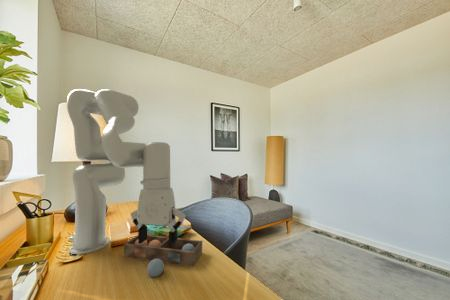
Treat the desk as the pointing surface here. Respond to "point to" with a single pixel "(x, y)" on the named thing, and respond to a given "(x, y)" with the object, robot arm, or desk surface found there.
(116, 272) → the desk surface
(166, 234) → the puzzle game
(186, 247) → the blue-grey ball
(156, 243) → the terracotta ball
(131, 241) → the divided wooden box
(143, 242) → the tan rounded piece
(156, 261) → the slate ball
